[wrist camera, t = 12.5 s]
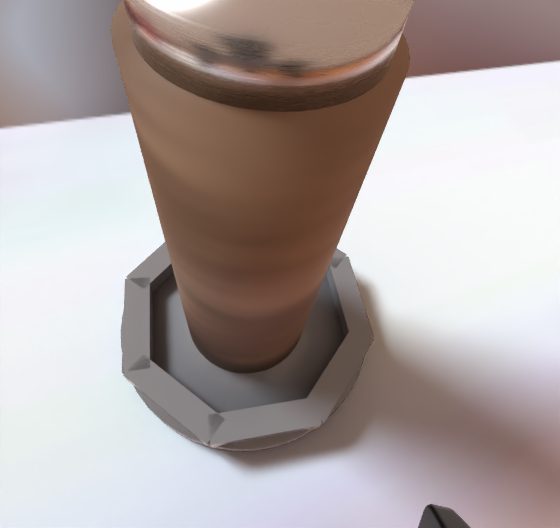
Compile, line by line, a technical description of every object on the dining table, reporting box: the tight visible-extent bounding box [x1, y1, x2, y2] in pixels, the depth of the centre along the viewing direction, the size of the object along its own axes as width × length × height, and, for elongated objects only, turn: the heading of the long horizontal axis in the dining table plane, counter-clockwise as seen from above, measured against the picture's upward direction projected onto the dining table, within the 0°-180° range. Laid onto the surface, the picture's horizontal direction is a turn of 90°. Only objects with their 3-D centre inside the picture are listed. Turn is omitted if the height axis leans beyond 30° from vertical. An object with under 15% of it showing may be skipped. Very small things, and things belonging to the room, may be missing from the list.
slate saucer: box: [121, 242, 374, 451], centre depth 17 cm, size 11×11×2 cm
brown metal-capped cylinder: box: [111, 0, 414, 373], centre depth 11 cm, size 5×5×13 cm
